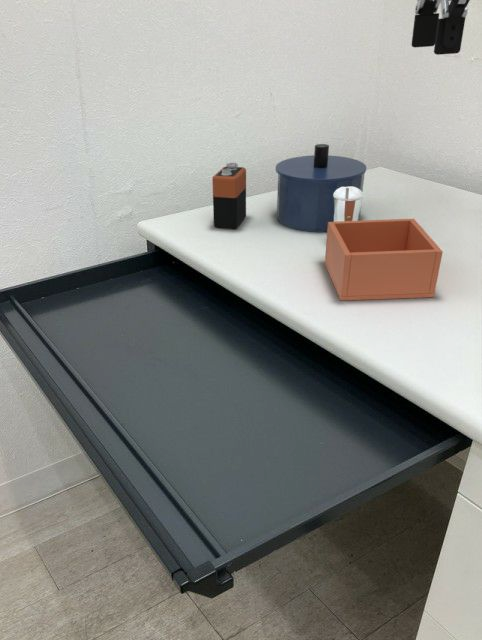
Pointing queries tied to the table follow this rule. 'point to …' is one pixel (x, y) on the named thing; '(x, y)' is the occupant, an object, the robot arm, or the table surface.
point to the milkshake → (347, 203)
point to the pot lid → (321, 167)
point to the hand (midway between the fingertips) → (434, 50)
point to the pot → (309, 202)
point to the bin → (381, 259)
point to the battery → (229, 196)
